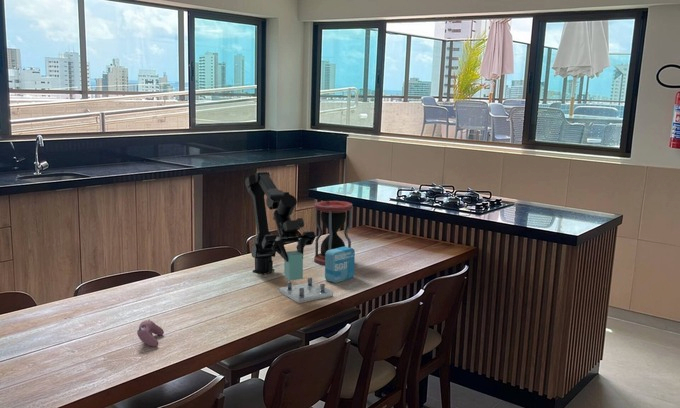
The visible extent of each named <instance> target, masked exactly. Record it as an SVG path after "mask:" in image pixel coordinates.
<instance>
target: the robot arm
mask: <svg viewBox="0 0 680 408" xmlns="http://www.w3.org/2000/svg"><path fill="white" fill-rule="evenodd" d="M244 184H245V188H246V189H247V193H248V194H249V196H250V197H251V198H252V203H253V204H252V205H253V211H254V212H253V213H254V220H255V226H256V235H255V237H254V240H253V245H252V248H251V252H250V253H251V257H252V258H254V269H253V270H252V273H258V274H262V275H267V274H269V273H271V272H274V271H275V268H274V265H273V262H274V261H273V258H274V257H276V254H278V255H279V256H280V257H281V258H282V259H283V260H285V261H286V262H288V256H287V253H286V252H287V250H286V248H285V244H287V243H295V242H296V243H297V245H296V251H299V252H300V253H302V254H303V255H304V250H305V246H311V245H312V244H313V243H314V241H315V240H316V237H317V236H316V232H315V231H313V230H306V231H303V232H302V234H301V235H298V233H299V230H301V229H302V228H304V227H305V222H304V219H303V217H301V218H297V219H294V220H292V219H291V215H292V214H293V213H294V211H295V208H296V205H297V204H298V199H297V198H296V197H295V196H294V195H292V194H290V192H288V191H286V192H285V191H283V190H281V189H278V187H277V186H276V184H275V182H274V181H273V179H272V178H271V176H270V172H269V171H257V172H255V173H253V174H251V175H248V177H246V178H245V181H244ZM265 196H266V198H265ZM265 199H266V200H265ZM267 207H268V209H269V210H271V211H273V210H274V211H273V213H272V215H273V217H272V219H273V220H274V221H275V224H276V225H275V226H276V233H277V234H278V235H279V236H277V235H276V234H275V233H273V234H271V232H270V231H269V222H268V215H267V209H266V208H267Z"/></svg>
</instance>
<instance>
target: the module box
mask: <svg viewBox="0 0 680 408" xmlns="http://www.w3.org/2000/svg"><path fill="white" fill-rule="evenodd" d="M286 253H287V256H288V262H286V261H285V260H284V259H283V260H284V261H283V262H284V264H283V265H284V270H283V271H284V273H283V274H284V278H286V279H287V280H288V282H289V281H291V282H292V281H296V280H297V281H298V280H303V279H304V277H303V276H304V275H303V274H304V273H303V271H304V268H303V267H304V253H303V254H302V253H300V252H299V251H297V250H290V251H286Z"/></svg>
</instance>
